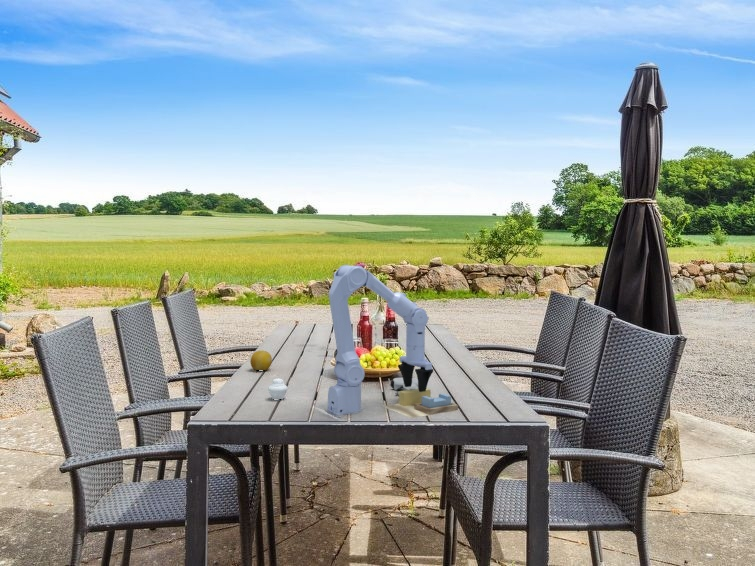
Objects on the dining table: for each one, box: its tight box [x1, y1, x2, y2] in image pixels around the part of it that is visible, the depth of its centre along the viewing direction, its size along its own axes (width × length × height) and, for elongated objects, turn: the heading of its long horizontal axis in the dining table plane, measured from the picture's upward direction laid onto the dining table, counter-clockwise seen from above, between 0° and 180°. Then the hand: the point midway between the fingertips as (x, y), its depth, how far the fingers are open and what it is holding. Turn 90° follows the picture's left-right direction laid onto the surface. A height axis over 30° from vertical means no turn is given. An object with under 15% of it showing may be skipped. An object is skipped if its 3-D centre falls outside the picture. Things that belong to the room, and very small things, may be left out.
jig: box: [381, 402, 460, 419], centre depth 190 cm, size 18×16×2 cm
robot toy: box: [388, 377, 419, 396], centre depth 213 cm, size 12×4×15 cm
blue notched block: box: [422, 392, 452, 408], centre depth 189 cm, size 8×4×4 cm, turn 123°
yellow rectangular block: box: [398, 388, 432, 406], centre depth 196 cm, size 10×3×4 cm, turn 123°
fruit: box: [250, 350, 273, 371], centre depth 251 cm, size 9×8×8 cm
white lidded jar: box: [268, 377, 288, 401], centre depth 204 cm, size 6×6×7 cm
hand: (415, 388), depth 196 cm, fingers open, 7 cm apart
